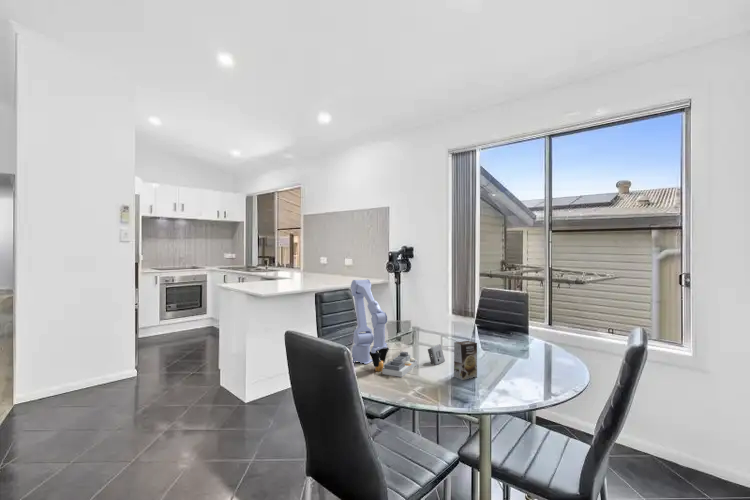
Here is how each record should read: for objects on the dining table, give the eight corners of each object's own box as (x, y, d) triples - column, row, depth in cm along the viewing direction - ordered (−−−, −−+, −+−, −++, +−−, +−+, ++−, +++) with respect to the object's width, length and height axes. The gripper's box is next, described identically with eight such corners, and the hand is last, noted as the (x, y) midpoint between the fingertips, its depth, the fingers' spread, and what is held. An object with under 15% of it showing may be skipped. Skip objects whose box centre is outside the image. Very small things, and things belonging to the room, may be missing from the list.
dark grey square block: (395, 363, 184) (395, 358, 184) (397, 361, 187) (397, 356, 187) (401, 364, 183) (401, 359, 183) (403, 362, 186) (403, 357, 186)
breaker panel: (382, 374, 176) (382, 363, 176) (399, 362, 196) (399, 353, 196) (401, 376, 172) (401, 366, 172) (417, 364, 191) (417, 355, 192)
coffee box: (462, 380, 167) (462, 344, 167) (453, 376, 172) (453, 342, 173) (477, 377, 171) (477, 342, 171) (468, 373, 177) (468, 340, 177)
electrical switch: (436, 365, 190) (435, 347, 191) (428, 364, 193) (426, 347, 194) (445, 361, 197) (443, 344, 198) (436, 361, 200) (435, 343, 201)
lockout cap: (373, 370, 181) (373, 360, 181) (377, 368, 185) (377, 358, 185) (381, 371, 179) (381, 361, 180) (384, 369, 183) (384, 359, 183)
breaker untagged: (400, 357, 190) (400, 352, 190) (402, 356, 193) (402, 351, 193) (405, 358, 189) (405, 353, 189) (407, 356, 192) (407, 352, 192)
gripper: (380, 340, 174) (380, 369, 174) (392, 334, 187) (392, 361, 187) (367, 339, 177) (367, 367, 177) (379, 333, 190) (379, 360, 190)
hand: (379, 364), depth 182 cm, fingers open, 7 cm apart
